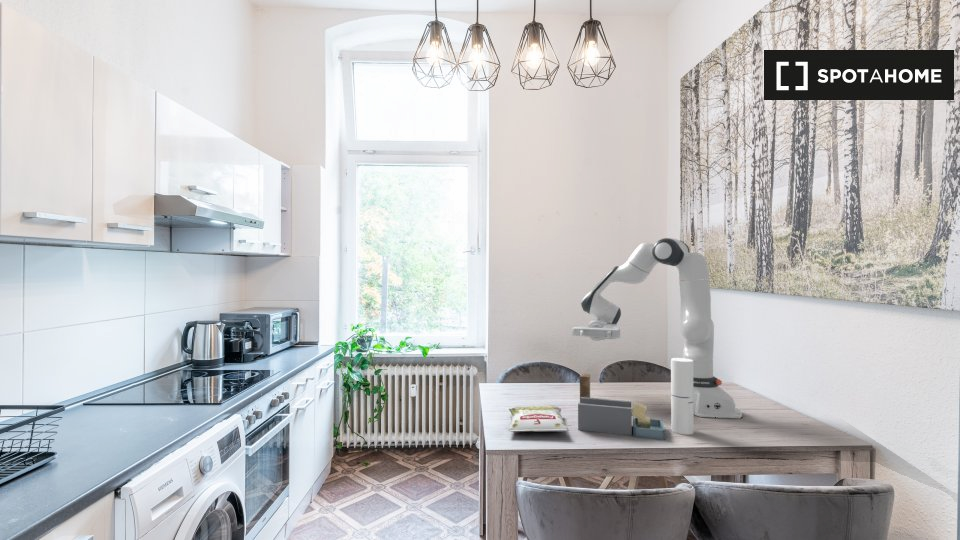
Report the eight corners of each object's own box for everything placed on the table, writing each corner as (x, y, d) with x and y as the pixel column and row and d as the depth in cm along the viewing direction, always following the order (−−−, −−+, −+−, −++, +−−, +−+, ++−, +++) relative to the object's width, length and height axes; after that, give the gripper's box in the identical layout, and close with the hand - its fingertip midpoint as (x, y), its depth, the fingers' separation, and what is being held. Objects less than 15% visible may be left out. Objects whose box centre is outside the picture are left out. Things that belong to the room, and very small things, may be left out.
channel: (631, 425, 162) (631, 401, 162) (631, 435, 152) (631, 408, 152) (580, 420, 167) (580, 396, 167) (578, 429, 158) (578, 404, 158)
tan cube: (643, 416, 157) (646, 406, 157) (643, 419, 153) (646, 409, 153) (631, 411, 159) (635, 401, 158) (631, 415, 155) (634, 404, 154)
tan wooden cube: (637, 427, 158) (649, 428, 157) (637, 430, 154) (650, 432, 153) (637, 415, 158) (649, 416, 157) (637, 419, 154) (650, 420, 153)
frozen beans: (561, 400, 173) (570, 421, 148) (562, 415, 173) (570, 438, 148) (508, 401, 175) (507, 422, 150) (508, 416, 175) (508, 439, 150)
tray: (662, 428, 159) (662, 419, 159) (665, 439, 148) (665, 430, 148) (632, 425, 162) (632, 416, 162) (633, 436, 151) (633, 427, 151)
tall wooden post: (590, 415, 174) (590, 374, 174) (589, 419, 169) (589, 377, 169) (581, 414, 175) (581, 373, 175) (579, 418, 170) (579, 376, 171)
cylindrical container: (668, 427, 160) (667, 357, 160) (688, 427, 160) (687, 357, 160) (676, 434, 153) (675, 361, 153) (697, 434, 153) (696, 361, 153)
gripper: (573, 322, 203) (569, 325, 190) (620, 324, 196) (620, 327, 183) (573, 336, 203) (569, 340, 190) (620, 338, 196) (620, 343, 183)
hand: (594, 334), depth 186 cm, fingers open, 8 cm apart
